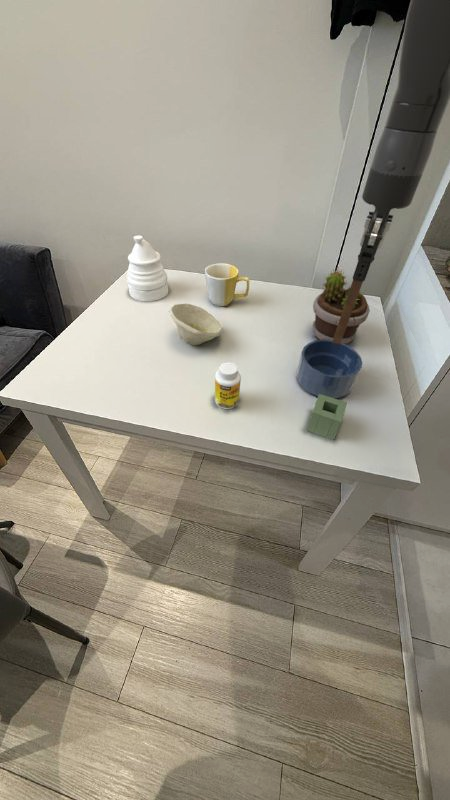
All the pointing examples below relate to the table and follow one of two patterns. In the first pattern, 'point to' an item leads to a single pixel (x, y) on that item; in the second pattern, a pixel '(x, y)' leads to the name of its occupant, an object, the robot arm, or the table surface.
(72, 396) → the table surface
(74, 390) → the table surface
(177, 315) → the bowl
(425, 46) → the robot arm
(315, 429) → the stick holder
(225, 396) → the supplement bottle
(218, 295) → the mug
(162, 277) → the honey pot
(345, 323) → the brown stick
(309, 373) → the blue round tub
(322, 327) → the flowerpot
